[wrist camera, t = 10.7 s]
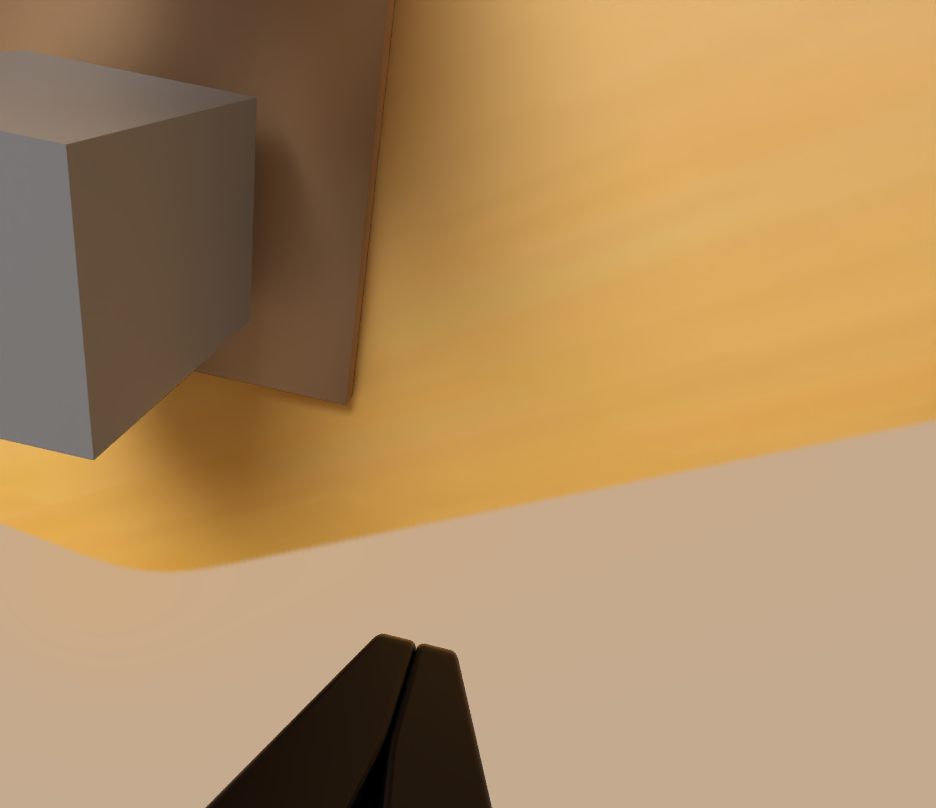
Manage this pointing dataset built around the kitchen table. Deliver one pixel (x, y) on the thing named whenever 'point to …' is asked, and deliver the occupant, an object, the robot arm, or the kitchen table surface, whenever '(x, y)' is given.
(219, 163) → the grey rectangular block
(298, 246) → the brown flat panel
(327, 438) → the kitchen table surface
